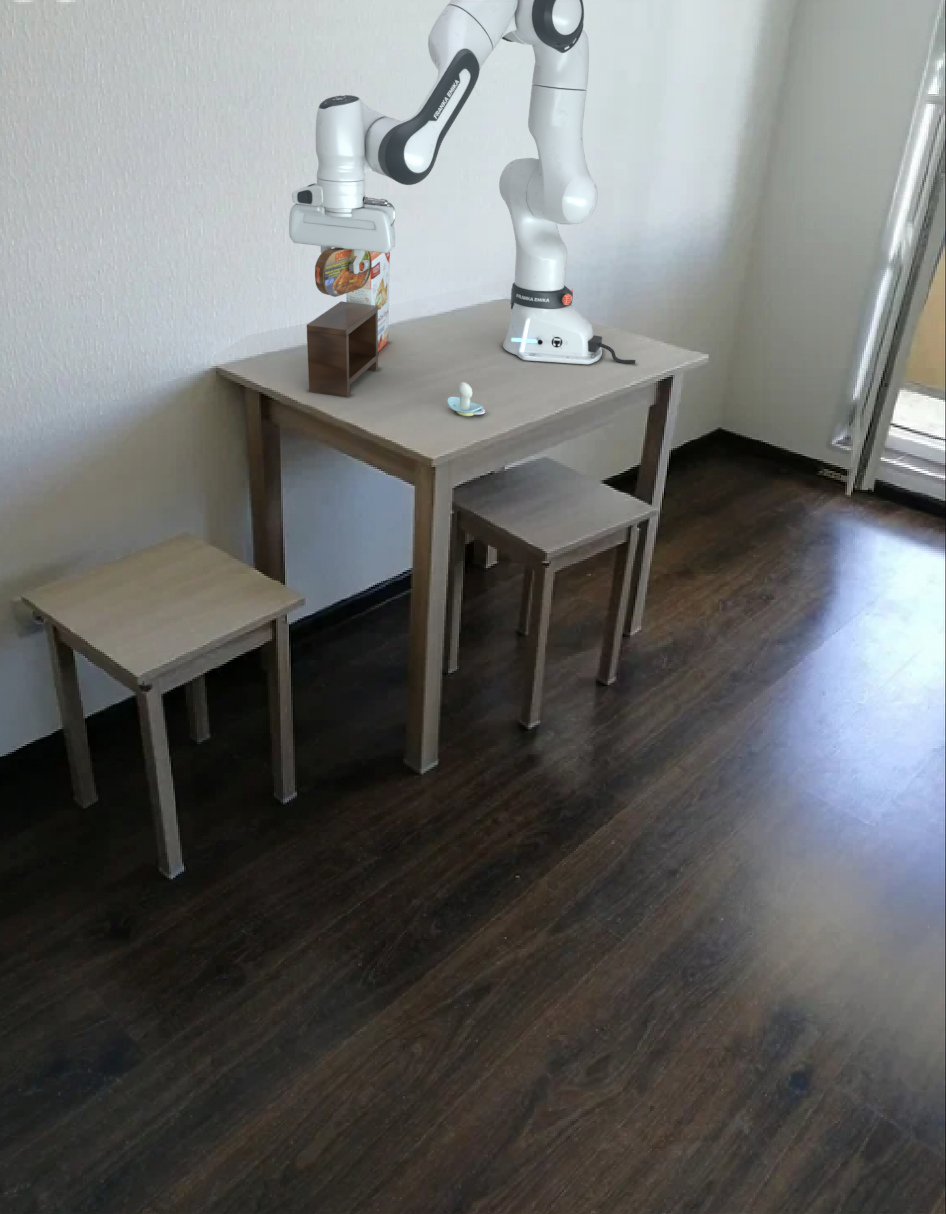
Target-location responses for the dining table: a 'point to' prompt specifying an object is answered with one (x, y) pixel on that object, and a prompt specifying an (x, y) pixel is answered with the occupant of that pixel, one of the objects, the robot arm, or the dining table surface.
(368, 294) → the cracker box
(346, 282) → the tin
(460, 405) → the pacifier
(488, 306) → the dining table surface
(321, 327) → the brown hollow box
